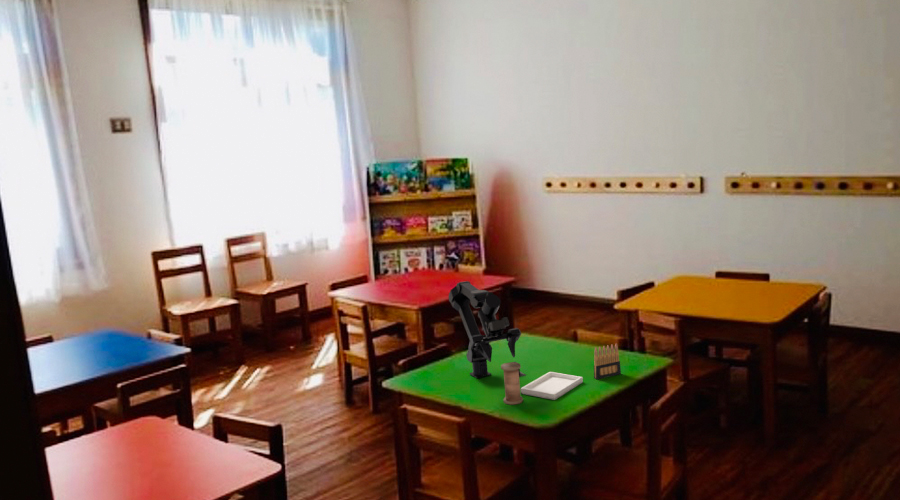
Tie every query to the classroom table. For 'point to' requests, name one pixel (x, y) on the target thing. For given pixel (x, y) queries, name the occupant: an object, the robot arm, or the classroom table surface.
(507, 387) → the brown wooden spool
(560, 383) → the white rectangular tray
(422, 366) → the classroom table surface
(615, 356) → the ammunition clip
